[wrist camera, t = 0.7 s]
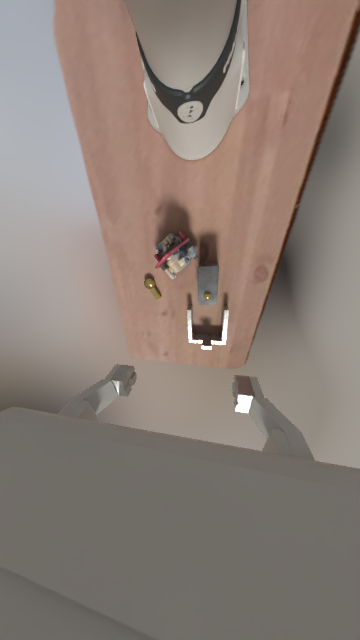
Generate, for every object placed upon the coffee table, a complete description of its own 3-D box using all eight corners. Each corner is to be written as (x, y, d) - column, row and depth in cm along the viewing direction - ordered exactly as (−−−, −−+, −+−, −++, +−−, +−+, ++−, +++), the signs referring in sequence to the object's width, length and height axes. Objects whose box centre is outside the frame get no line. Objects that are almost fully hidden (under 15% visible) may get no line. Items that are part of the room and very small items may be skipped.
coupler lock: (199, 262, 41) (197, 267, 34) (217, 261, 40) (219, 266, 33) (199, 296, 46) (198, 305, 39) (215, 295, 45) (216, 305, 38)
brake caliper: (173, 212, 34) (186, 240, 28) (197, 243, 42) (210, 270, 36) (142, 245, 39) (147, 275, 33) (169, 268, 47) (177, 295, 41)
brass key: (144, 280, 47) (142, 281, 45) (151, 275, 45) (150, 277, 44) (155, 299, 49) (154, 300, 48) (163, 295, 48) (162, 296, 47)
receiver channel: (188, 304, 48) (185, 314, 42) (227, 305, 45) (230, 315, 39) (190, 335, 54) (187, 348, 48) (224, 337, 52) (226, 350, 46)
